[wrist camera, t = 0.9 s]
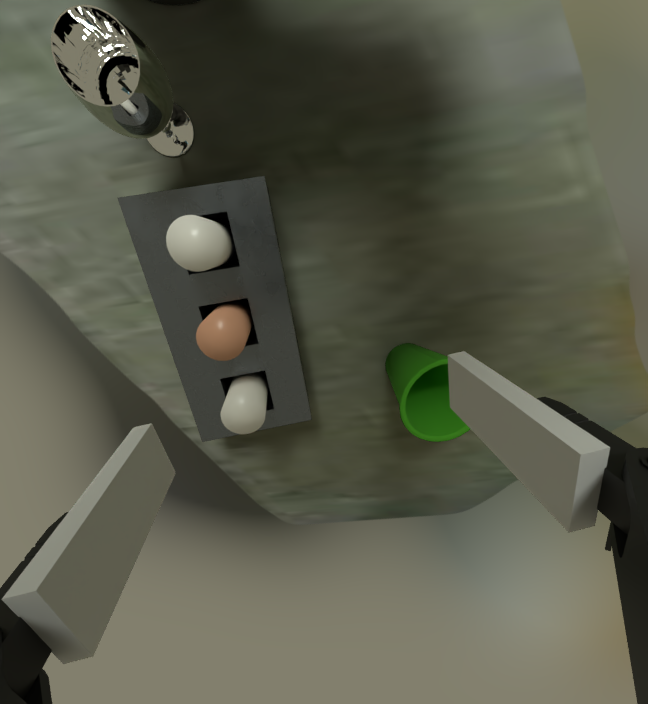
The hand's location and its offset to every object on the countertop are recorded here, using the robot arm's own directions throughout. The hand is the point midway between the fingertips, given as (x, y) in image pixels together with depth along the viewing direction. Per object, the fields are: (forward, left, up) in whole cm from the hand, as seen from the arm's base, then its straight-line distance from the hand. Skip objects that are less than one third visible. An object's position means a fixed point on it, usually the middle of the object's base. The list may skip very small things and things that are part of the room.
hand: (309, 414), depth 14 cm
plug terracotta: (-1, -6, -20) cm, 21 cm away
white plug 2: (+7, -6, -20) cm, 23 cm away
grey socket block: (-1, -6, -24) cm, 25 cm away
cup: (+9, +13, -24) cm, 29 cm away
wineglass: (-19, -8, -24) cm, 31 cm away
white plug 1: (-8, -6, -21) cm, 23 cm away
